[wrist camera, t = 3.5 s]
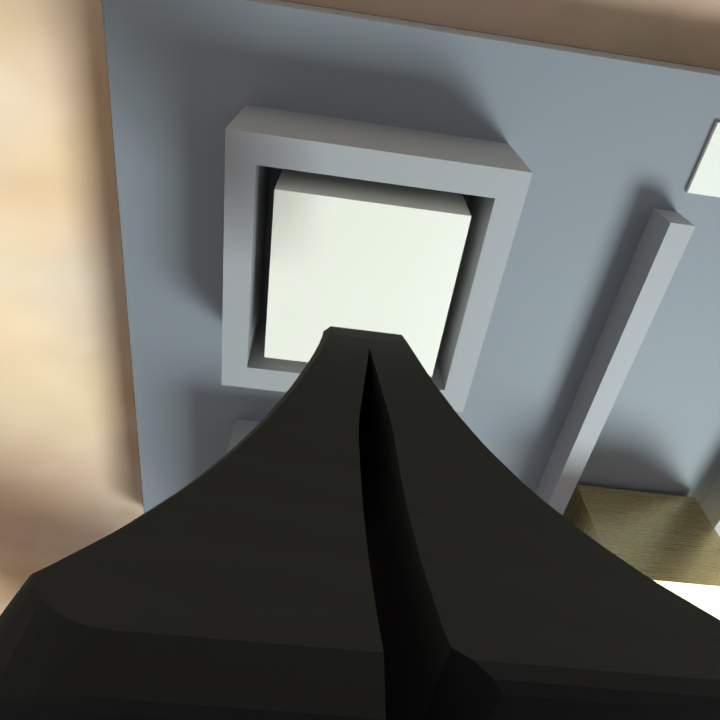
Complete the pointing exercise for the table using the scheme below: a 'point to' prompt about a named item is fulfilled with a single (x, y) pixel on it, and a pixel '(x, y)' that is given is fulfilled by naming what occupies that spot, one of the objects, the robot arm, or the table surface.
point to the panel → (482, 246)
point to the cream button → (361, 262)
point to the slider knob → (655, 538)
